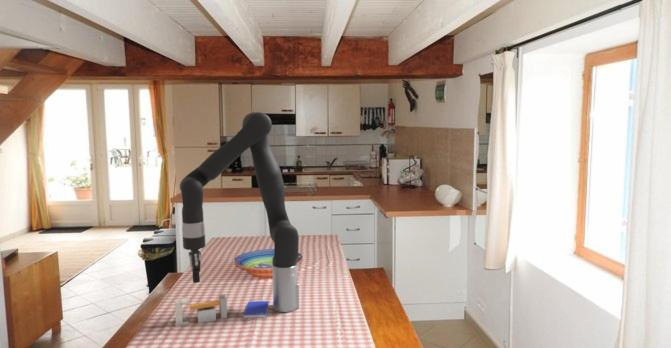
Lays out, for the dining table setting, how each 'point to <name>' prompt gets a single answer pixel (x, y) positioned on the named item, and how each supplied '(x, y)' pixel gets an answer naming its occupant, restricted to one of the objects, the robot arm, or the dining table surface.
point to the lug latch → (179, 309)
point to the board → (222, 311)
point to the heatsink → (206, 314)
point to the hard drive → (256, 309)
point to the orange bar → (205, 304)
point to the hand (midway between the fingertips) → (196, 281)
